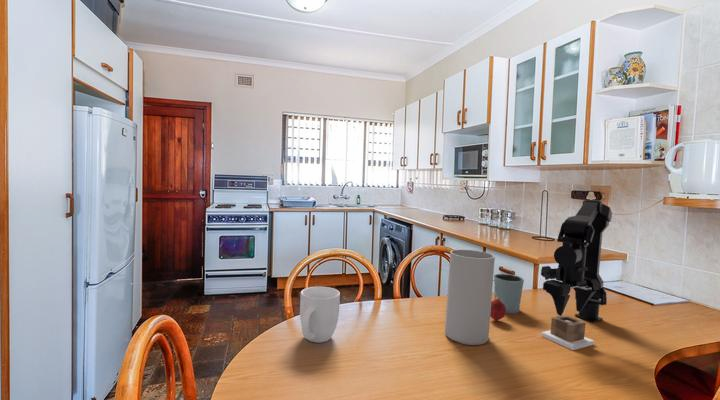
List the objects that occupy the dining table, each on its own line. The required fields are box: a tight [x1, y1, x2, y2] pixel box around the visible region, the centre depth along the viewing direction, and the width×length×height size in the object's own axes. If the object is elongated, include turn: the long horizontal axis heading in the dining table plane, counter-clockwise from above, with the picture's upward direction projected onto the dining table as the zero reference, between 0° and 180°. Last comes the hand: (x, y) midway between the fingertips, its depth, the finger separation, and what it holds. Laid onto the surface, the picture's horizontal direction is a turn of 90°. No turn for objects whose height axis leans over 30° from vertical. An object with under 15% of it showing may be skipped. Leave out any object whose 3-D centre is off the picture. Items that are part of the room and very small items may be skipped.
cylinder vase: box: [444, 249, 496, 346], centre depth 108 cm, size 12×12×25 cm
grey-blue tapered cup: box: [493, 273, 525, 314], centre depth 135 cm, size 10×10×12 cm
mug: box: [299, 286, 341, 343], centre depth 101 cm, size 15×11×13 cm
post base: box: [540, 320, 595, 351], centre depth 110 cm, size 10×10×6 cm
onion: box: [490, 297, 507, 322], centre depth 123 cm, size 6×6×8 cm
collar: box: [550, 314, 586, 342], centre depth 110 cm, size 6×6×5 cm
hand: (569, 313), depth 110 cm, fingers open, 9 cm apart
